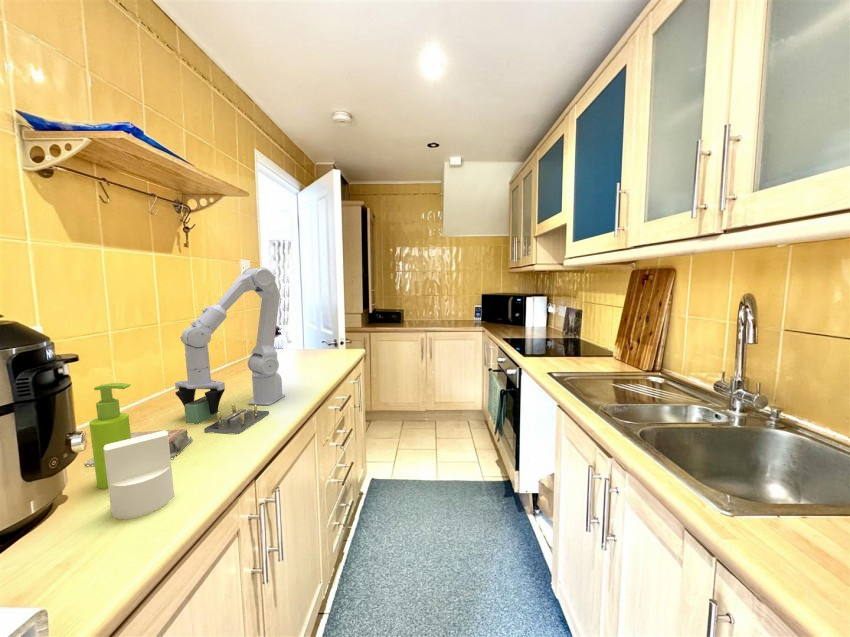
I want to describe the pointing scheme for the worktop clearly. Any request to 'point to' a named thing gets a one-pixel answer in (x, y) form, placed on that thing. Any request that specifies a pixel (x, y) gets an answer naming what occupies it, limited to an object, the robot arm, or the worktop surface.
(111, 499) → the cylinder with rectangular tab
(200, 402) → the block
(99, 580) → the worktop surface
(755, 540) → the worktop surface
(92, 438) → the soap dispenser
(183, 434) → the packaged product
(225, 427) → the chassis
